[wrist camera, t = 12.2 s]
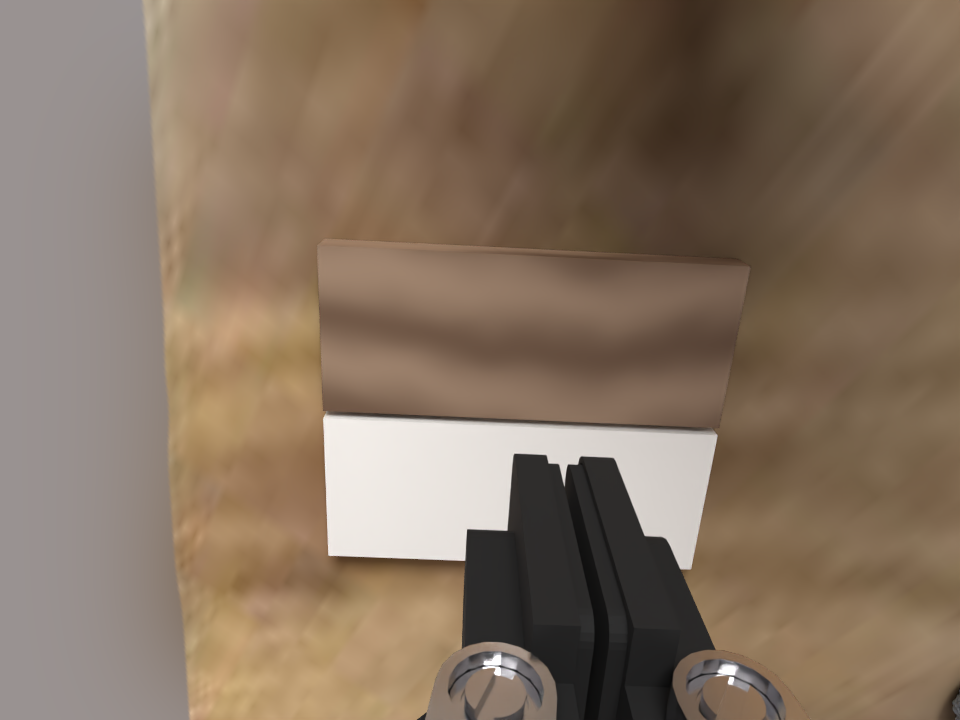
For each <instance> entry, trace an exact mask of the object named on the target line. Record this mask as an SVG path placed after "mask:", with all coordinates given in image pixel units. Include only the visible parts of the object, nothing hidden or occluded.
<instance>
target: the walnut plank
mask: <svg viewBox="0 0 960 720" xmlns="http://www.w3.org/2000/svg"><path fill="white" fill-rule="evenodd" d="M317 256H318V284H319V311H320V339H321V367H322V394H323V411H336V412H359V413H382V414H405V415H428V416H451V417H474V418H497V419H520V420H544V421H567V422H590V423H613V424H636V425H659V426H682V427H705V428H719V426H720V421H721V416H722V411H723V405H724V400H725V395H726V390H727V385H728V380H729V375H730V370H731V365H732V360H733V355H734V350H735V345H736V340H737V334H738V329H739V324H740V319H741V314H742V309H743V304H744V299H745V294H746V289H747V284H748V279H749V274H750V268H751V266H749V265H747V264H746V263H744V262H742V261H741V260H739V259H730V258H710V257H690V256H669V255H649V254H628V253H608V252H588V251H567V250H547V249H527V248H506V247H486V246H465V245H445V244H425V243H404V242H384V241H364V240H343V239H324V240H323V241H322V242H320V243H319V244H318V245H317Z"/></svg>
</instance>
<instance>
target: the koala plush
mask: <svg viewBox="0 0 960 720" xmlns="http://www.w3.org/2000/svg"><path fill="white" fill-rule="evenodd" d="M952 704H953V711H954V713H955V714H956V718H955V720H960V689H959V694H958V695H957V697H956V699H955V700H953V702H952Z"/></svg>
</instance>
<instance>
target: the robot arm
mask: <svg viewBox="0 0 960 720" xmlns="http://www.w3.org/2000/svg"><path fill="white" fill-rule="evenodd" d="M417 720H811V719H810V718H809V716H808V715H807V713H806V712H805V710H804V709H803V708H802V706H801V705H800V703H799V702H798V701H797V699H796V698H795V696H794V695H793V694H792V692H791V691H790V690H789V689H788V687H787V686H786V685H785V684H784V683H783V682H782V681H781V680H780V679H779V678H778V676H776V675H775V674H774V673H772V672H771V671H770V670H768V669H767V668H765V667H764V666H763V665H761V664H760V663H757V662H755V661H753V660H751V659H749V658H747V657H745V656H743V655H739V654H735V653H732V652H728V651H723V650H715V647H714V645H713V643H712V641H711V638H710V636H709V634H708V631H707V629H706V627H705V625H704V622H703V620H702V618H701V615H700V613H699V611H698V609H697V606H696V604H695V602H694V599H693V597H692V595H691V593H690V590H689V588H688V586H687V583H686V581H685V579H684V577H683V574H682V572H681V570H680V567H679V565H678V563H677V561H676V558H675V556H674V554H673V551H672V549H671V547H670V545H669V543H668V541H667V540H666V539H665V538H663V537H654V536H645V535H644V533H643V530H642V528H641V525H640V523H639V520H638V517H637V515H636V512H635V510H634V507H633V505H632V502H631V499H630V497H629V494H628V492H627V489H626V487H625V484H624V481H623V479H622V476H621V474H620V471H619V469H618V466H617V463H616V461H615V459H614V458H609V457H585V456H581V457H580V458H579V462H578V465H574V464H568V466H567V469H566V477H565V486H564V483H563V479H562V474H561V470H560V466H559V464H550V463H548V458H547V455H538V454H514V456H513V464H512V476H511V489H510V502H509V515H508V528H507V531H502V530H477V529H467V537H466V555H465V575H464V599H463V629H462V649H461V650H459V651H457V652H455V653H453V654H452V655H451V656H450V657H449V658H448V659H447V660H446V661H445V662H444V663H443V664H442V666H441V668H440V670H439V673H438V675H437V677H436V679H435V683H434V687H433V691H432V695H431V699H430V702H429V706H428V710H427V712H426V713H425V714H424V715H423V716H421V717H420V718H419V719H417Z"/></svg>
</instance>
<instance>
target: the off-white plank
mask: <svg viewBox="0 0 960 720" xmlns="http://www.w3.org/2000/svg"><path fill="white" fill-rule="evenodd" d="M323 422H324V448H325V475H326V502H327V529H328V555H329V556H354V557H380V558H406V559H432V560H458V561H465V555H466V537H467V529H477V530H502V531H507V528H508V515H509V502H510V489H511V476H512V464H513V456H514V454H538V455H547V458H548V463H550V464H559V466H560V470H561V474H562V479H563V483H564V486H565V477H566V469H567V466H568V464H574V465H578V462H579V458H580V457H581V456H585V457H609V458H614V459H615V461H616V463H617V466H618V469H619V471H620V474H621V476H622V479H623V481H624V484H625V487H626V489H627V492H628V494H629V497H630V499H631V502H632V505H633V507H634V510H635V512H636V515H637V517H638V520H639V523H640V525H641V528H642V530H643V533H644V535H645V536H654V537H663V538H665V539H666V540H667V541H668V543H669V545H670V547H671V549H672V551H673V554H674V556H675V558H676V561H677V563H678V565H679V567H680V569H691V566H692V561H693V556H694V551H695V546H696V541H697V536H698V531H699V526H700V521H701V516H702V511H703V506H704V501H705V496H706V491H707V486H708V481H709V476H710V471H711V466H712V461H713V456H714V451H715V446H716V441H717V436H718V435H717V434H716V433H715V431H714V430H713V428H705V427H682V426H659V425H636V424H613V423H590V422H567V421H544V420H520V419H497V418H474V417H451V416H428V415H405V414H382V413H359V412H336V411H327V412H326V414H325V416H324V418H323Z"/></svg>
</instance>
